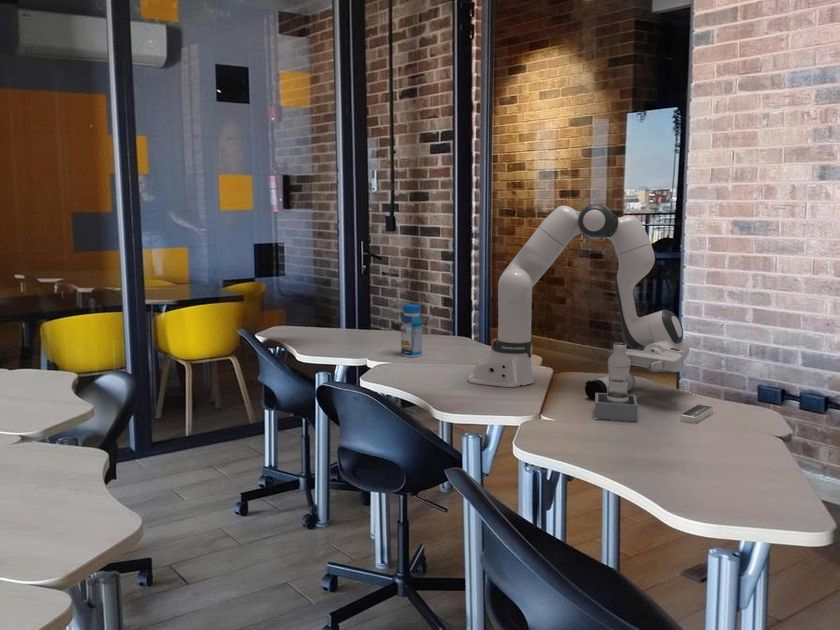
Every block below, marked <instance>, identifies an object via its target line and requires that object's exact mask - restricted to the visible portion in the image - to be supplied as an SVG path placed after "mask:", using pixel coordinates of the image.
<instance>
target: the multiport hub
mask: <svg viewBox="0 0 840 630" xmlns="http://www.w3.org/2000/svg"><path fill="white" fill-rule="evenodd" d="M711 413H712V414H713V413H714V407H713V406H709V405H704V404H696V405H694V406H693V407H691V408H690V409H688V410H686V411H684V412H683V413H681V414H680V422H682V421H683V422H682V423H687V422H688V424H693V423H696V424H698V423H699V422H701V421H702V419H703V420H704V419H706V418H707V417H709V416H711V415H712V414H711ZM710 414H711V415H710ZM708 415H709V416H708ZM706 416H707V417H706ZM705 417H706V418H705ZM700 420H701V421H700ZM697 422H698V423H697Z"/></svg>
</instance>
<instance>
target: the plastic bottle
mask: <svg viewBox="0 0 840 630" xmlns="http://www.w3.org/2000/svg"><path fill="white" fill-rule="evenodd" d="M627 346H628V345H627V344H626V343H624V342H615V343H613V348H612V351H613V352H612V353H611V355H609V357H608V360H607V368H608V369H607V371H608V376H609V387H608V395H607V398H606V403H619V404H629V399H628V395H629V391H628V376H629V372H630V369H631V365H630V364H631V362H630V359H629V357H628V356H627V354H626V351H627V349H628V347H627Z"/></svg>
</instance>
